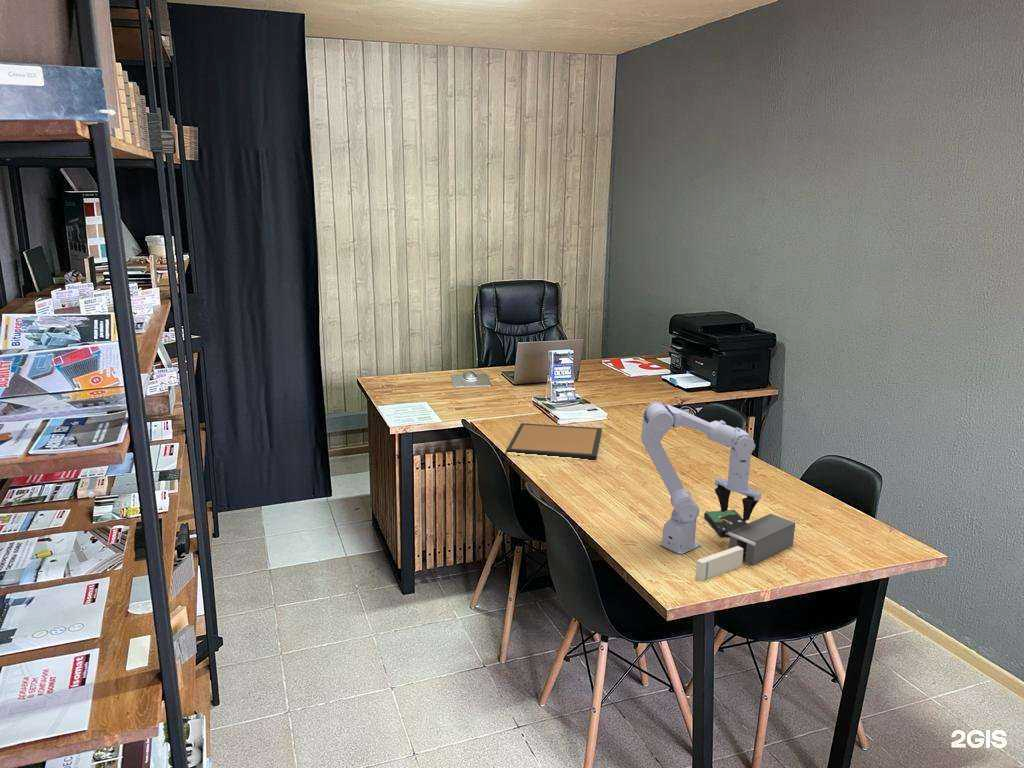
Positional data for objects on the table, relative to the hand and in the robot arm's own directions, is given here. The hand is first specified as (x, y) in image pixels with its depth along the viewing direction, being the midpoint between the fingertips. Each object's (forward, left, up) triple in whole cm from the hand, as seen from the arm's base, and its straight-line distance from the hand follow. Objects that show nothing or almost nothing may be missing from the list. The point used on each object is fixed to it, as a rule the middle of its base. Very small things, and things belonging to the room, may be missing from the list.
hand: (735, 515), depth 219 cm
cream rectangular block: (-17, -8, -10) cm, 21 cm away
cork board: (+19, +100, -10) cm, 102 cm away
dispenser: (+4, -7, -9) cm, 12 cm away
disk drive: (+9, +9, -10) cm, 16 cm away
